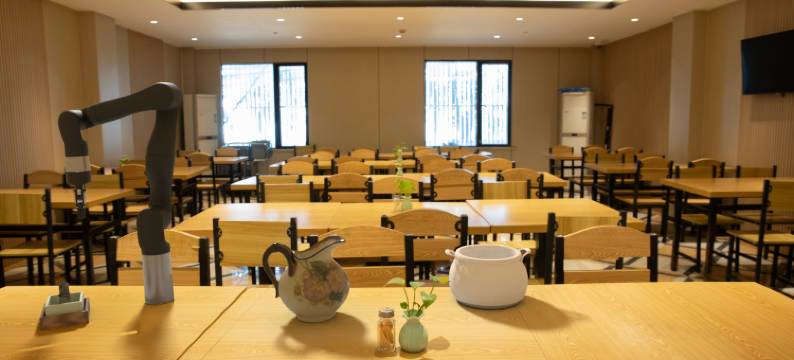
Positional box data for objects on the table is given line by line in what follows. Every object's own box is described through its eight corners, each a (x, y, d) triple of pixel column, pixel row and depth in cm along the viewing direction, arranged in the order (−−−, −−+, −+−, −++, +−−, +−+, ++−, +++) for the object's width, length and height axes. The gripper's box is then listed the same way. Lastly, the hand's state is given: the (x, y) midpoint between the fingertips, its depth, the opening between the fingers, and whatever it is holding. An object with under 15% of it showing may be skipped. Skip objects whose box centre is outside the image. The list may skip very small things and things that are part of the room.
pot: (520, 286, 220) (521, 239, 217) (540, 311, 193) (541, 258, 191) (441, 288, 219) (440, 241, 216) (450, 313, 192) (450, 261, 190)
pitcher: (365, 313, 193) (362, 237, 190) (307, 336, 176) (302, 252, 173) (320, 299, 208) (316, 228, 205) (262, 319, 191) (258, 241, 188)
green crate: (84, 310, 199) (83, 291, 198) (83, 321, 188) (81, 301, 187) (50, 315, 195) (48, 295, 194) (46, 327, 184) (44, 306, 183)
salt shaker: (81, 314, 193) (78, 277, 192) (67, 320, 188) (63, 283, 186) (65, 312, 195) (62, 276, 193) (51, 319, 189) (47, 282, 187)
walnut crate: (90, 310, 201) (89, 297, 200) (89, 324, 187) (87, 311, 187) (45, 316, 195) (44, 303, 195) (40, 332, 182) (39, 318, 181)
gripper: (66, 168, 208) (70, 214, 210) (64, 172, 195) (68, 221, 197) (91, 167, 211) (94, 212, 213) (90, 170, 198) (94, 219, 201)
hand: (82, 216), depth 205 cm, fingers open, 8 cm apart
